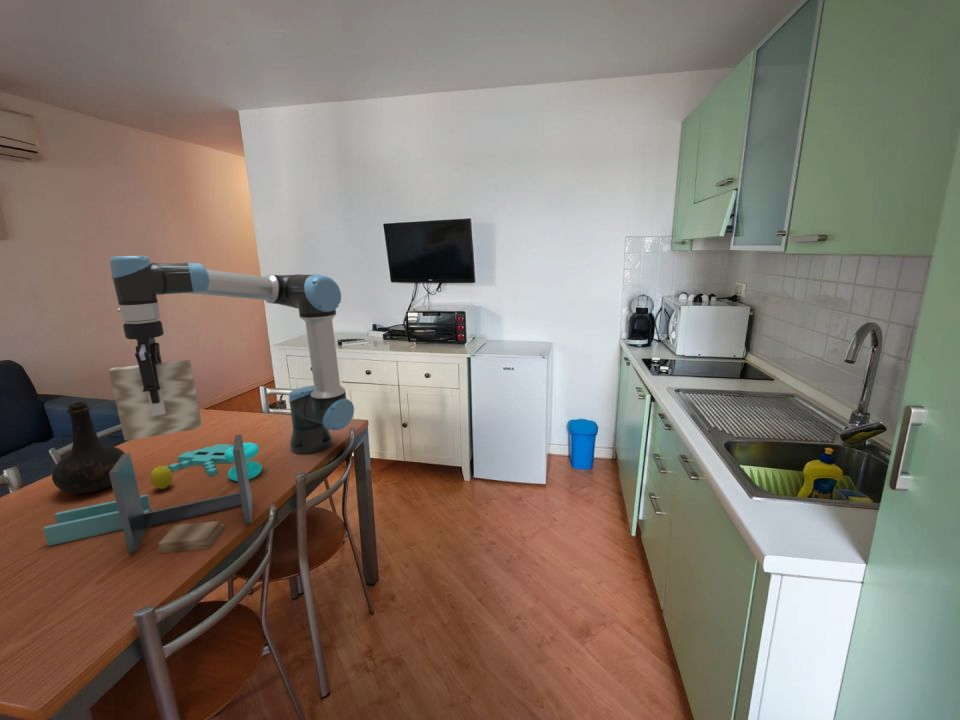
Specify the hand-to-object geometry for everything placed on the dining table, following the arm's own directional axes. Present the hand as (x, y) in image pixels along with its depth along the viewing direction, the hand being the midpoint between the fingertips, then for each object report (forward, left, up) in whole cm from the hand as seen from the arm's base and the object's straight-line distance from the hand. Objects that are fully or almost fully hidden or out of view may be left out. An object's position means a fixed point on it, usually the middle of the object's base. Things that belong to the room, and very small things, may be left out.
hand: (160, 411), depth 110 cm
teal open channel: (+20, -9, -33) cm, 39 cm away
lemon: (+9, -25, -33) cm, 42 cm away
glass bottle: (+29, -37, -33) cm, 57 cm away
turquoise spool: (-14, -23, -33) cm, 42 cm away
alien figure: (-1, -41, -33) cm, 53 cm away
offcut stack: (-3, +9, -33) cm, 35 cm away
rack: (-3, +3, -33) cm, 33 cm away
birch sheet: (0, 0, -6) cm, 6 cm away
